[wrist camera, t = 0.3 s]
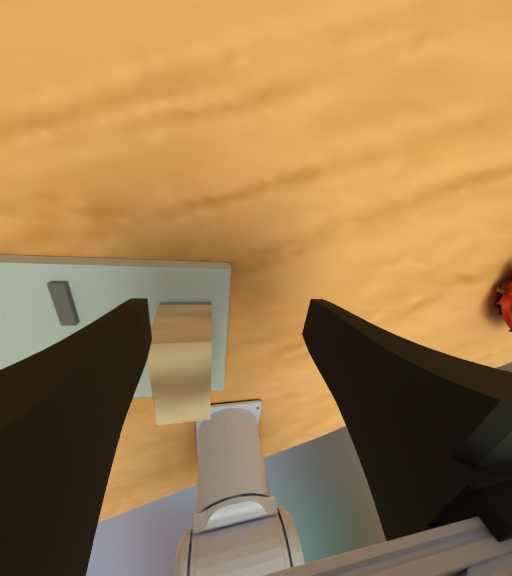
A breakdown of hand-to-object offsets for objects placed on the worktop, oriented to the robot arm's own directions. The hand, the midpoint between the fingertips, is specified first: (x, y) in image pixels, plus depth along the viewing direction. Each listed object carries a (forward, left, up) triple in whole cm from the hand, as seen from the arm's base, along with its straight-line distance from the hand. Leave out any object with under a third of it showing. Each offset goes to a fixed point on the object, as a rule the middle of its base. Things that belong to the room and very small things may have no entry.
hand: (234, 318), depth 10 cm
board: (-8, +9, -10) cm, 16 cm away
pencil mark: (-4, +11, -8) cm, 14 cm away
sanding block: (-8, +3, -8) cm, 12 cm away
